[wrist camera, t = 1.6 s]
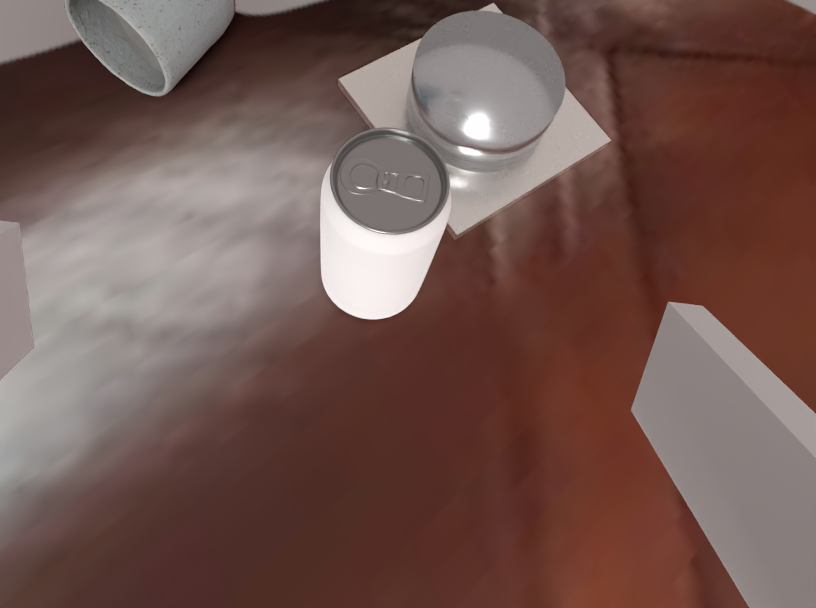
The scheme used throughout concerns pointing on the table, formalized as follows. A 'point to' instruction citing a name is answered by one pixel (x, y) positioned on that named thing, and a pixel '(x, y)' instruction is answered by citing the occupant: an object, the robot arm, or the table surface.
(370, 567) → the table surface
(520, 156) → the duct collar
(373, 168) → the can
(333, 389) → the table surface
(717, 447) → the robot arm
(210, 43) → the ceramic mug
